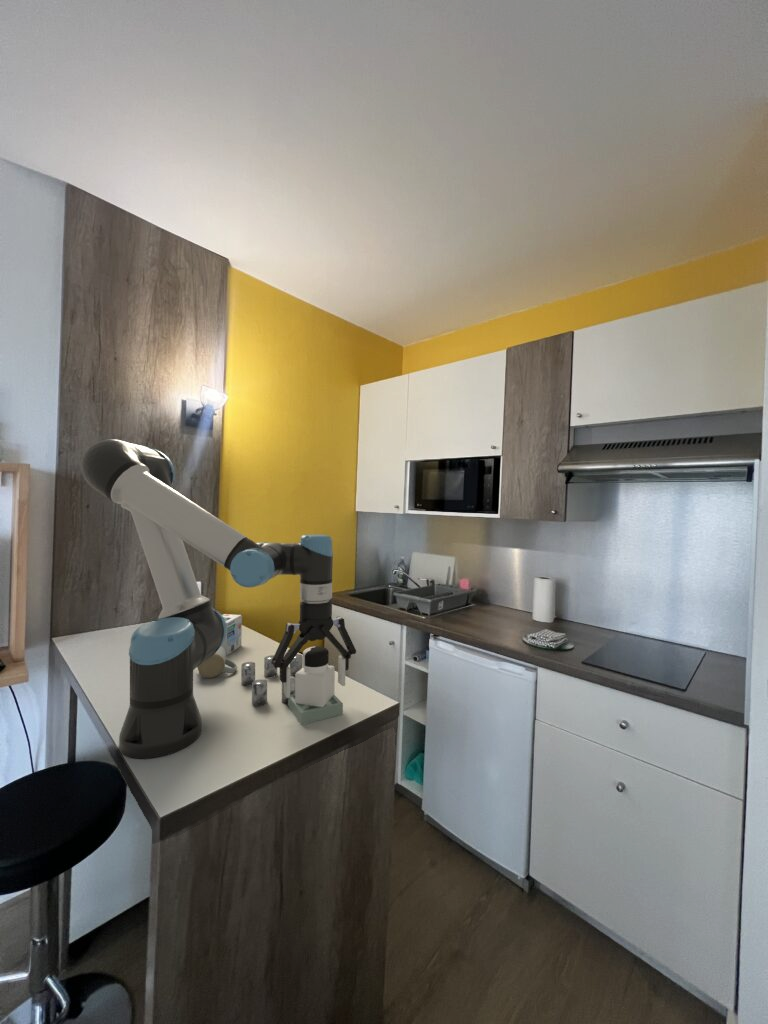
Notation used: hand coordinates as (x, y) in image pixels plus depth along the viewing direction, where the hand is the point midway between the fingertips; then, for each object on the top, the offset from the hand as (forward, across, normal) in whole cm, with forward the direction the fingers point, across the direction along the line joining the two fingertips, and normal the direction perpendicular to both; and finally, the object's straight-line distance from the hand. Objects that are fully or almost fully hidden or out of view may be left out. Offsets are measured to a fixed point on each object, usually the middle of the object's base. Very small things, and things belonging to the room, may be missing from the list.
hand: (315, 689), depth 100 cm
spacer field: (+5, -4, +16) cm, 18 cm away
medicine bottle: (+2, 0, 0) cm, 2 cm away
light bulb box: (+5, -12, +54) cm, 55 cm away
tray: (+5, 0, 0) cm, 5 cm away
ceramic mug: (+5, -17, +34) cm, 39 cm away
